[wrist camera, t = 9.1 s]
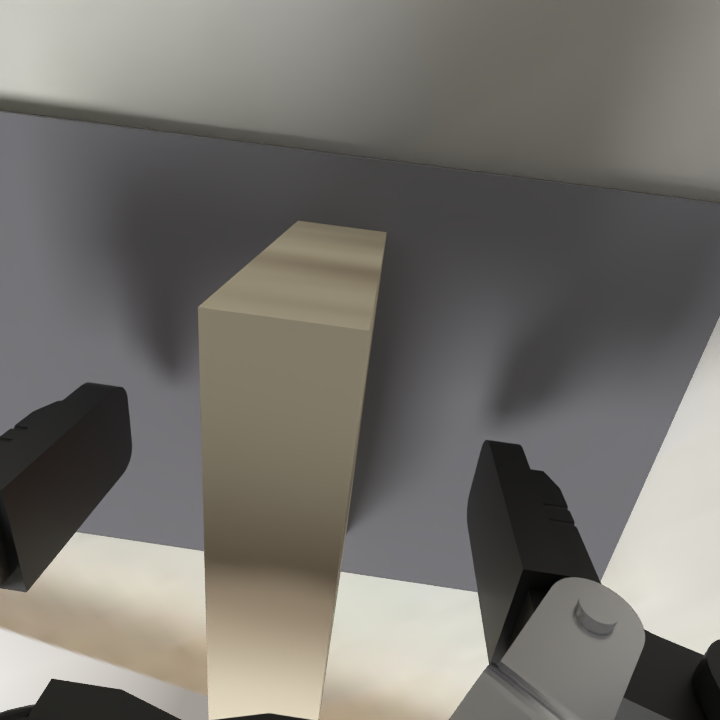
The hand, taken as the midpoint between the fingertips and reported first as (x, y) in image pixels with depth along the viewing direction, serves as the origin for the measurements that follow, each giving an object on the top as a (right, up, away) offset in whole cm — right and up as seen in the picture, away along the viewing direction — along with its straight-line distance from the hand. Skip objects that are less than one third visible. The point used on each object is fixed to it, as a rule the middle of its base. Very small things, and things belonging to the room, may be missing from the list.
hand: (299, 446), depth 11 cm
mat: (-1, +1, +2) cm, 3 cm away
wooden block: (0, +1, +2) cm, 2 cm away
